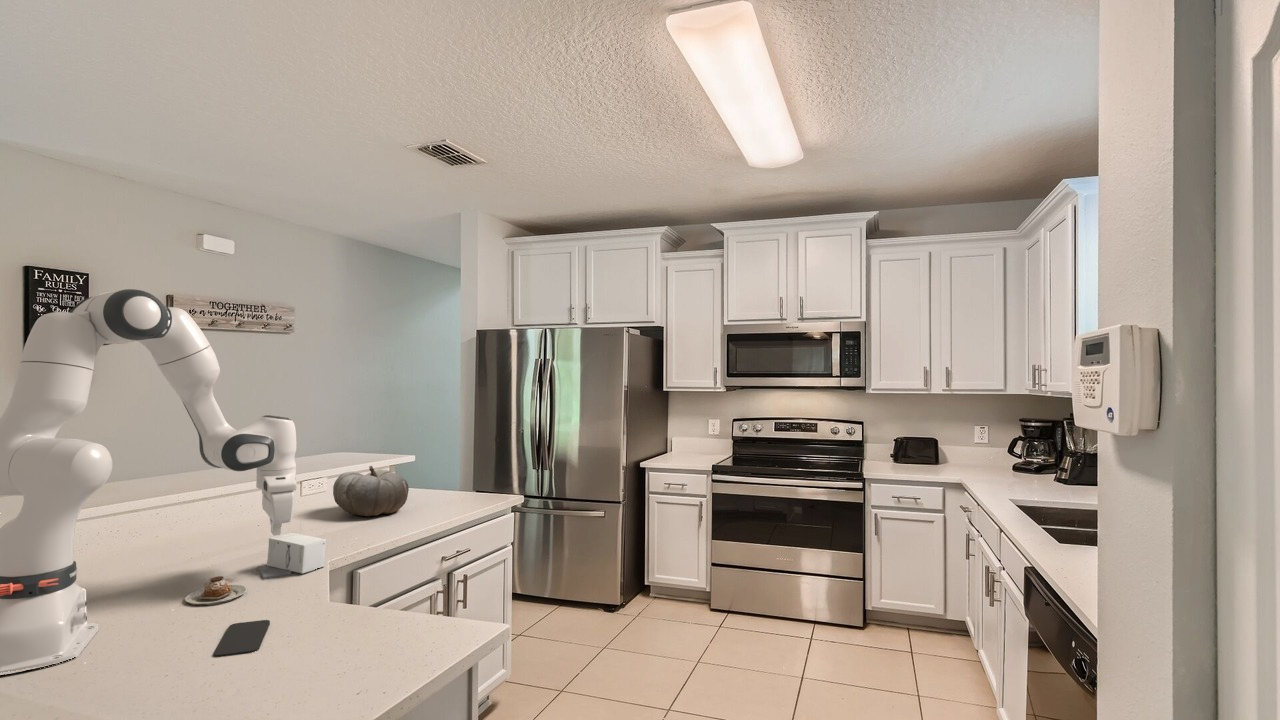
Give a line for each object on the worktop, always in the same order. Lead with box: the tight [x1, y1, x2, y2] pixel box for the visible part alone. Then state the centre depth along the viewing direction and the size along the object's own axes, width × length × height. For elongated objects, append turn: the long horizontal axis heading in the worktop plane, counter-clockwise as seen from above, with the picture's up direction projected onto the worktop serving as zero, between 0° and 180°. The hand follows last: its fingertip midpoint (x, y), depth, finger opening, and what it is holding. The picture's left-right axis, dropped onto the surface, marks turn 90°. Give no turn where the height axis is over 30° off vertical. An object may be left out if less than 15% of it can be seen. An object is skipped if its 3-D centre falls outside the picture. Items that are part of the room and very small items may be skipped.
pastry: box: [184, 576, 248, 606], centre depth 151 cm, size 12×12×5 cm
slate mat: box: [257, 564, 292, 580], centre depth 169 cm, size 10×6×1 cm, turn 38°
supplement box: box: [266, 532, 327, 574], centre depth 172 cm, size 7×7×13 cm
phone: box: [213, 619, 271, 658], centre depth 129 cm, size 7×1×15 cm
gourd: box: [332, 465, 409, 517], centre depth 233 cm, size 25×25×17 cm
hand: (275, 534), depth 167 cm, fingers closed
